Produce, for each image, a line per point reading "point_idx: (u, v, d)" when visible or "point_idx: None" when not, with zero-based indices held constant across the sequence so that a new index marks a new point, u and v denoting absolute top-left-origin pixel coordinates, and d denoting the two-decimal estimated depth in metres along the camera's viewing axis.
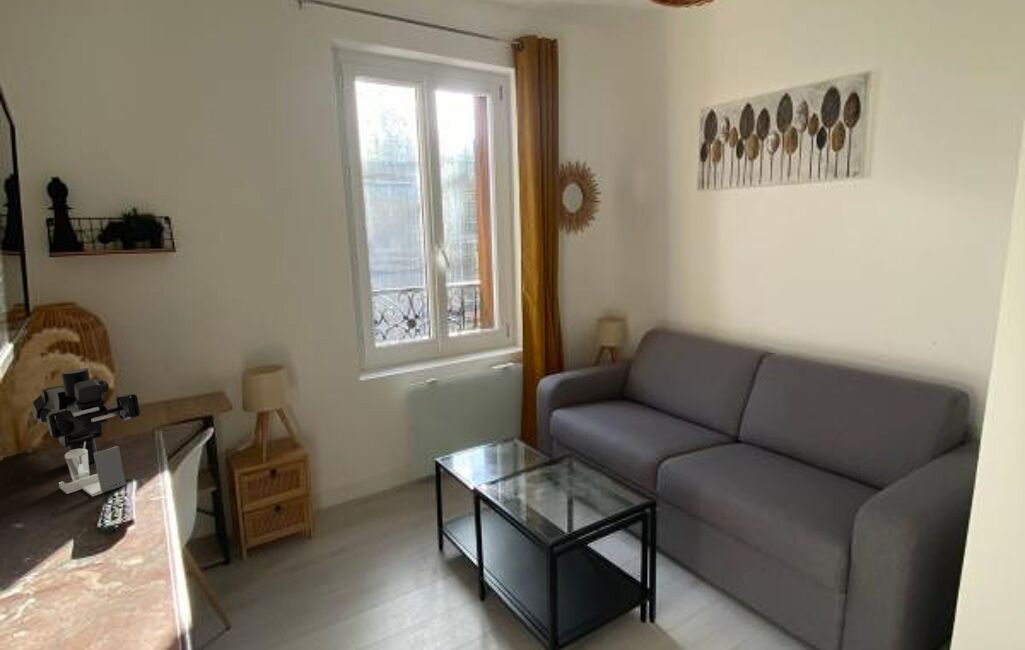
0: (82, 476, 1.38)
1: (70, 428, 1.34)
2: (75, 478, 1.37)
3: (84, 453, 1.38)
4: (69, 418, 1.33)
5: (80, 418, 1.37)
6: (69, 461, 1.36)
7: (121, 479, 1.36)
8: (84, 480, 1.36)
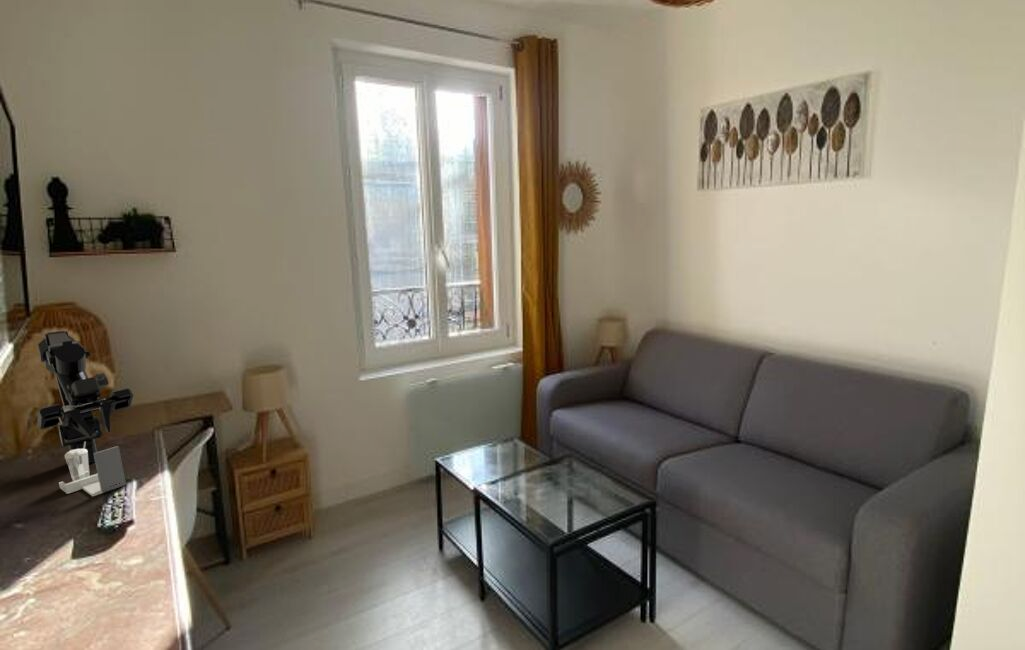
0: (82, 476, 1.38)
1: (74, 423, 1.34)
2: (75, 478, 1.37)
3: (84, 453, 1.38)
4: (76, 418, 1.32)
5: None
6: (69, 461, 1.36)
7: (121, 479, 1.36)
8: (84, 480, 1.36)
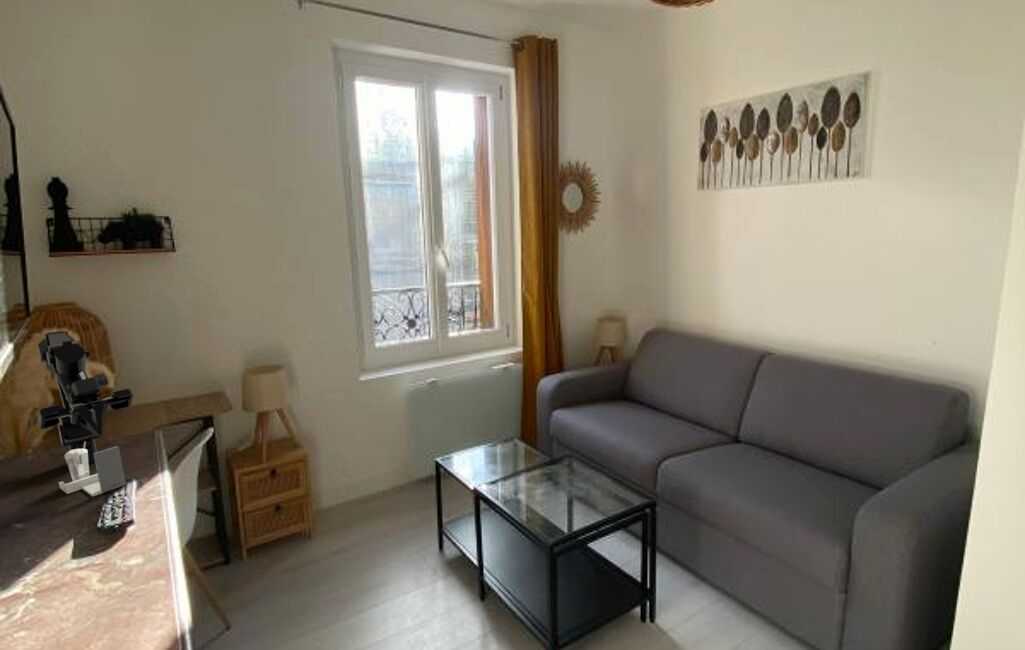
0: (82, 476, 1.38)
1: (82, 421, 1.35)
2: (75, 478, 1.37)
3: (84, 453, 1.38)
4: (85, 416, 1.34)
5: None
6: (69, 461, 1.36)
7: (121, 479, 1.36)
8: (84, 480, 1.36)
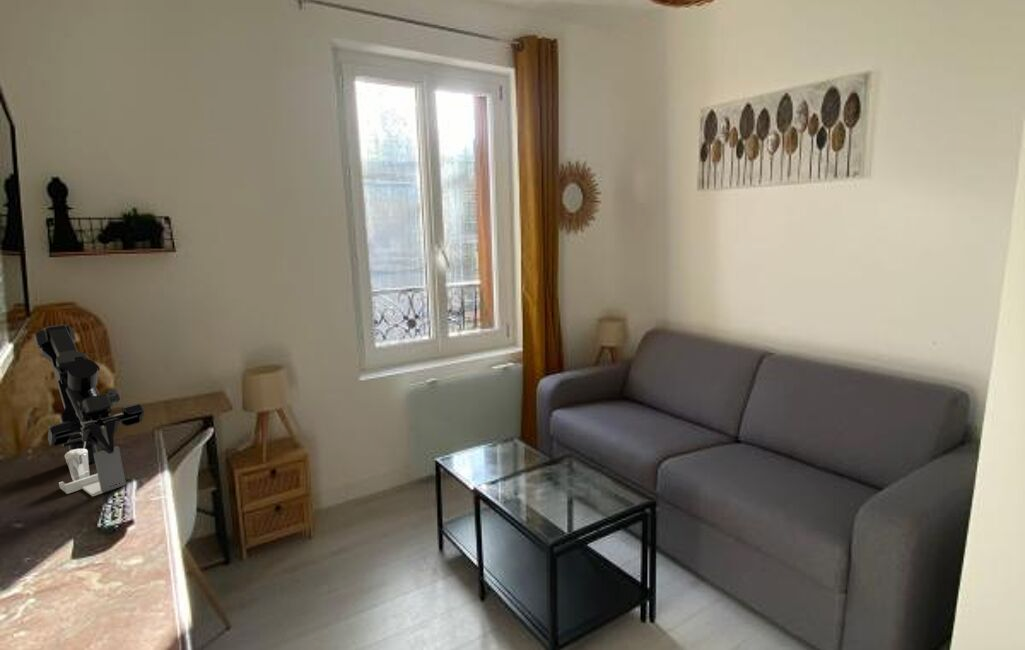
0: (82, 476, 1.38)
1: (93, 438, 1.32)
2: (75, 478, 1.37)
3: (84, 453, 1.38)
4: (96, 434, 1.31)
5: None
6: (69, 461, 1.36)
7: (121, 479, 1.36)
8: (84, 480, 1.36)
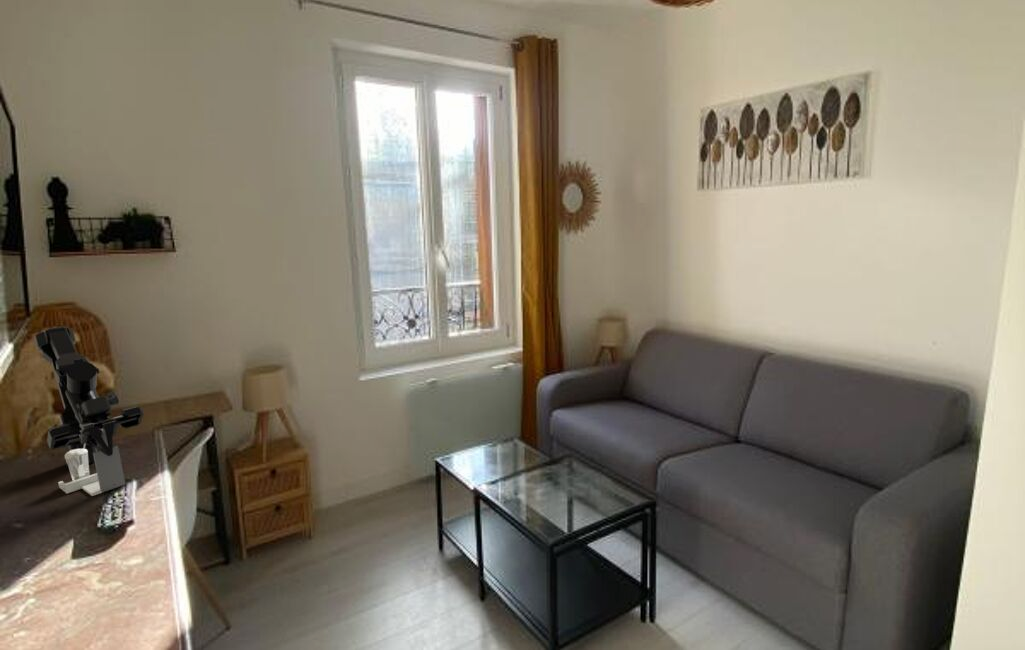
0: (82, 476, 1.38)
1: (93, 440, 1.33)
2: (75, 478, 1.37)
3: (84, 453, 1.38)
4: (95, 436, 1.31)
5: None
6: (69, 461, 1.36)
7: (120, 479, 1.36)
8: (83, 480, 1.37)
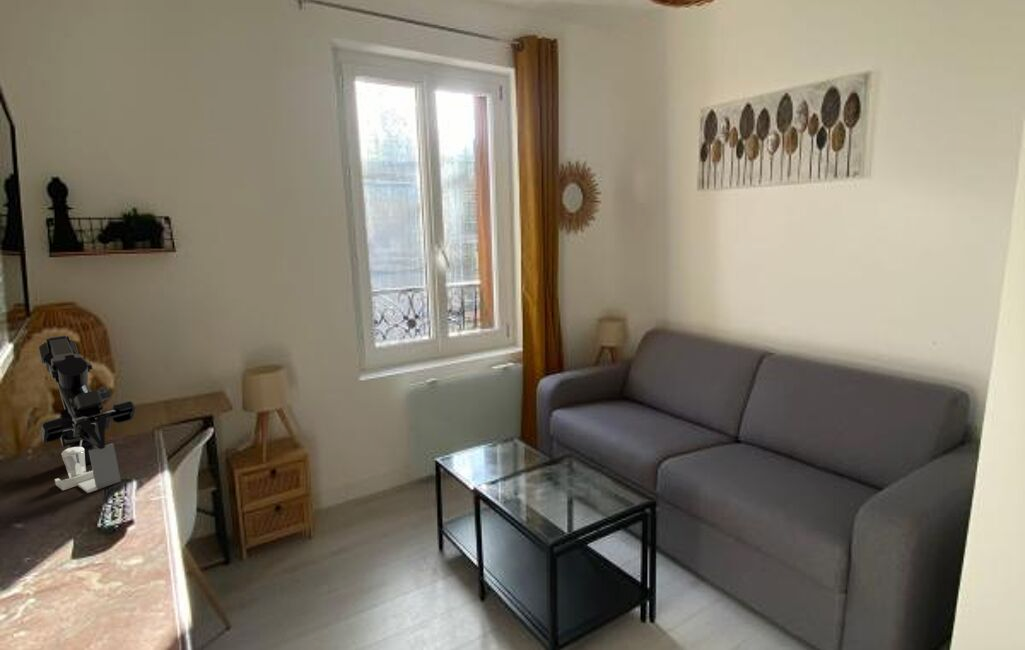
0: (79, 474, 1.39)
1: (85, 434, 1.36)
2: (72, 476, 1.39)
3: (81, 451, 1.39)
4: (87, 430, 1.34)
5: None
6: (66, 459, 1.37)
7: (116, 476, 1.38)
8: (79, 477, 1.38)
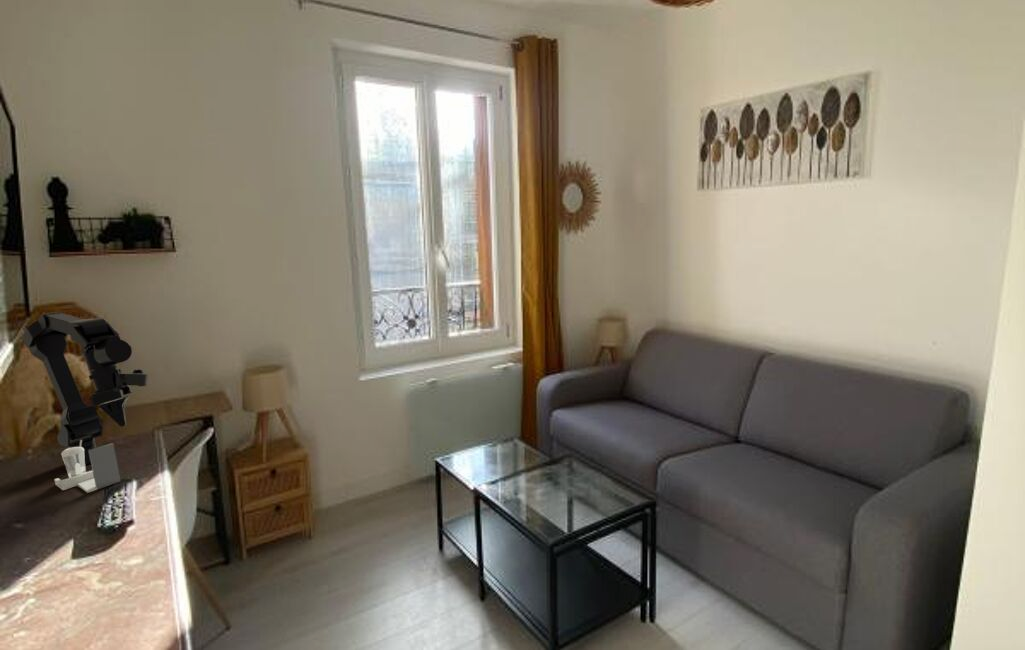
0: (79, 474, 1.39)
1: (109, 407, 1.39)
2: (72, 476, 1.39)
3: (81, 451, 1.39)
4: (122, 405, 1.40)
5: None
6: (66, 459, 1.37)
7: (116, 476, 1.38)
8: (79, 477, 1.38)
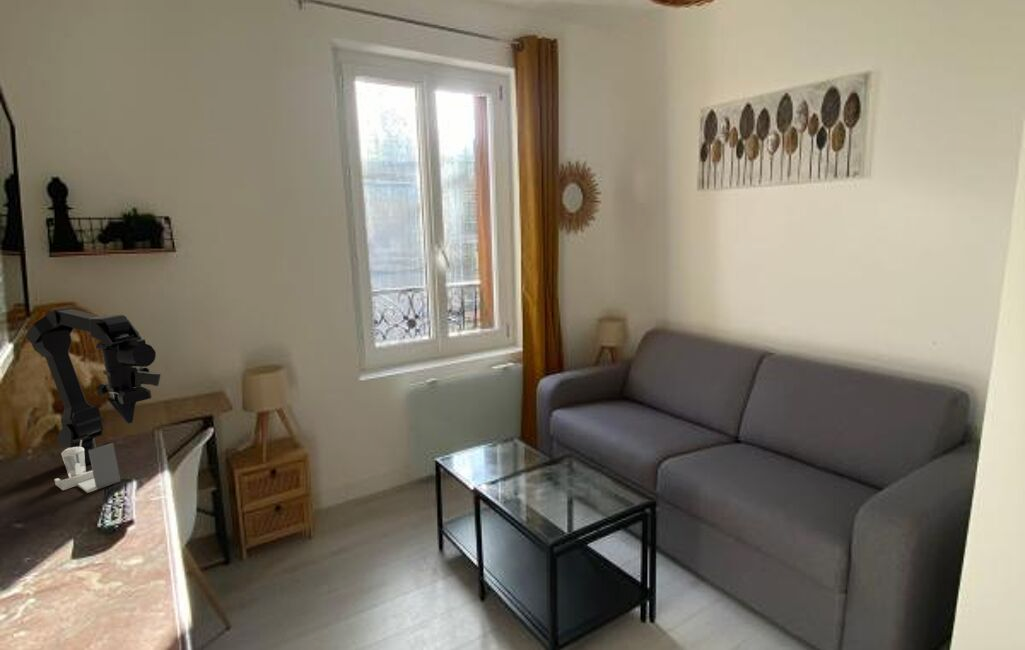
0: (79, 474, 1.39)
1: (123, 404, 1.41)
2: (72, 476, 1.39)
3: (81, 451, 1.39)
4: None
5: None
6: (66, 459, 1.37)
7: (116, 476, 1.38)
8: (79, 477, 1.38)
